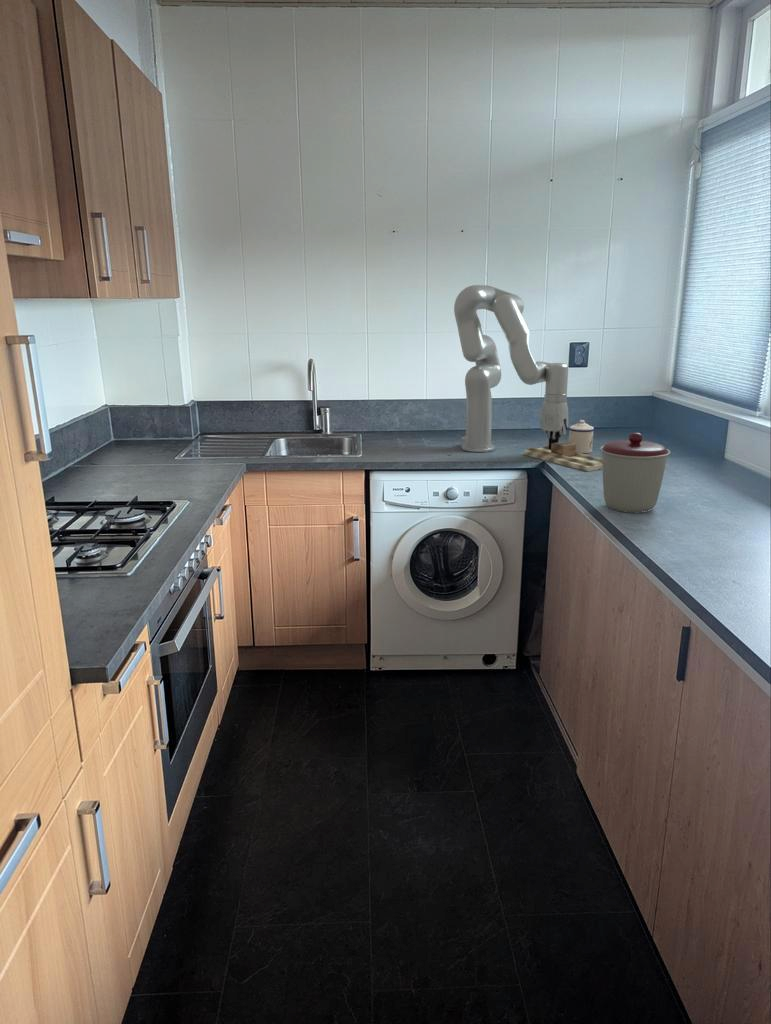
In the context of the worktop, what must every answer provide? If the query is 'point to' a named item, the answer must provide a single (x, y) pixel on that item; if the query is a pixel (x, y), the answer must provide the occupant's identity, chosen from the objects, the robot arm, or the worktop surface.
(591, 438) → the teacup with lid
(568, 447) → the walnut slider
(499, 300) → the robot arm
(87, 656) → the worktop surface
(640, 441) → the canister
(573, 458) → the birch rail board
